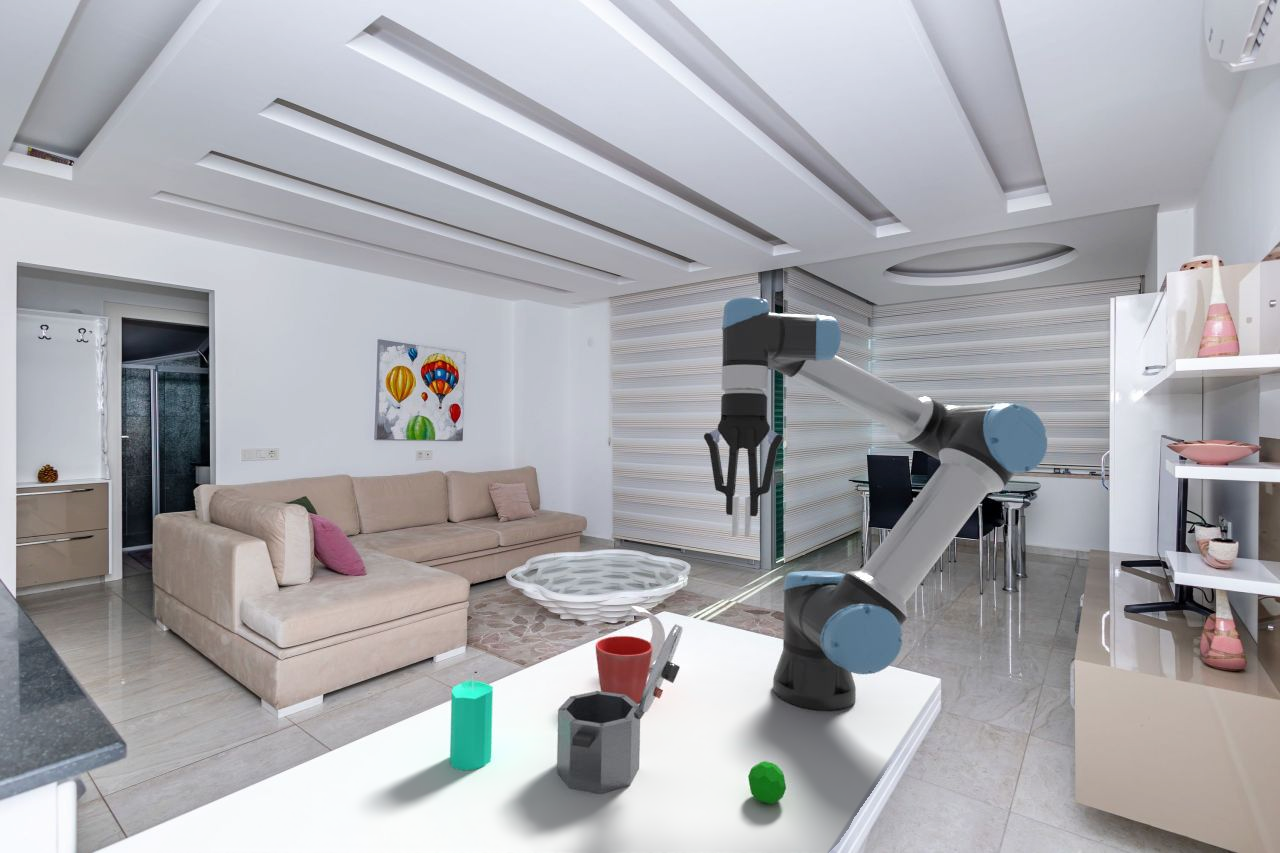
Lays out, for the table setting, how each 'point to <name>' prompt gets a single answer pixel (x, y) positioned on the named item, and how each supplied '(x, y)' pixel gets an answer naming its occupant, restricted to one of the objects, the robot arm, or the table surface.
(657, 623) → the headphone stand
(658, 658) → the lid
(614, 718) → the pot
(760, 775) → the polyhedron
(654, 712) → the table surface
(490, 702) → the candle
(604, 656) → the flower pot
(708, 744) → the table surface
